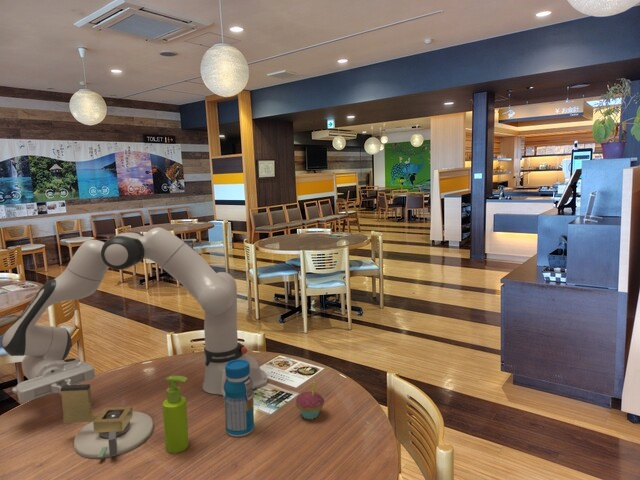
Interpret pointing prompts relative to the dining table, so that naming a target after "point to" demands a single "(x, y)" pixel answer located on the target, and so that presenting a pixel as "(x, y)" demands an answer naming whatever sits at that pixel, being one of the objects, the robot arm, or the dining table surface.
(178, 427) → the soap dispenser
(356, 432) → the dining table surface
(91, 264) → the robot arm
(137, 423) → the plate
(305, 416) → the cupcake
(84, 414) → the tan piece
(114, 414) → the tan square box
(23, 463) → the dining table surface
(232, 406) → the beverage bottle
